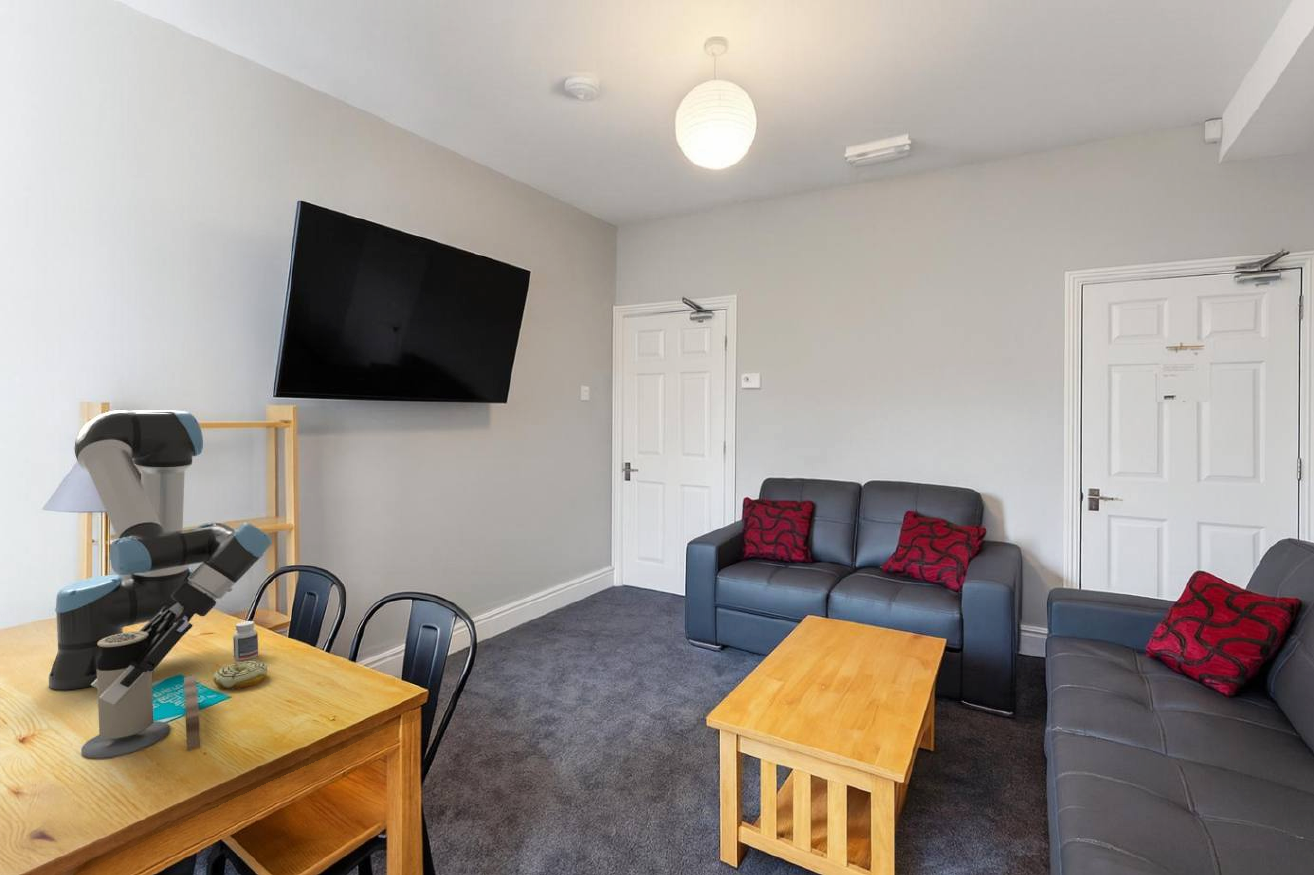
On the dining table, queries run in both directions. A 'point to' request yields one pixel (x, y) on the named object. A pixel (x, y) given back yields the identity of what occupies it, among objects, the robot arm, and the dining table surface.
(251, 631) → the pill bottle
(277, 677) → the dining table surface
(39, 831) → the dining table surface
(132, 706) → the travel mug
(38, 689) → the dining table surface
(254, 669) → the decorated donut
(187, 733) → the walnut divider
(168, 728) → the grey oval pebble
